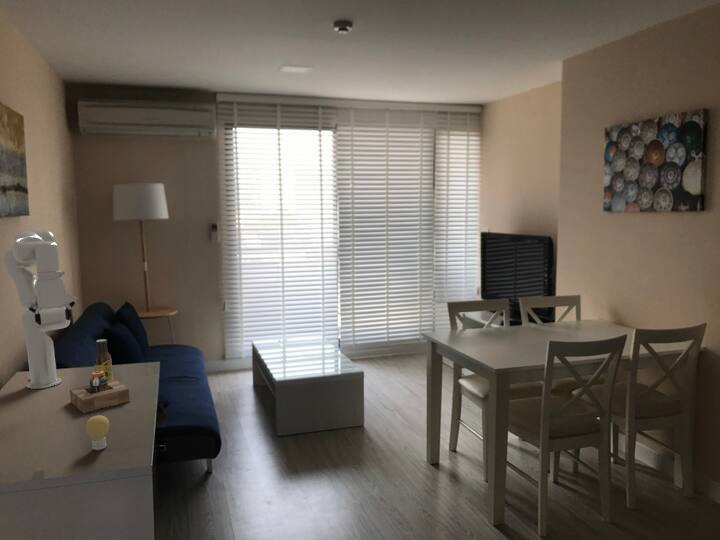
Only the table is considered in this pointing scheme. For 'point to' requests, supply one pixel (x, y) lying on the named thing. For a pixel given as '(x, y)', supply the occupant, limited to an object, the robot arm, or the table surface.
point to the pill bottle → (98, 382)
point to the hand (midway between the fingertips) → (53, 321)
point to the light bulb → (97, 431)
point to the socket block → (99, 396)
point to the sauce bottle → (103, 359)
